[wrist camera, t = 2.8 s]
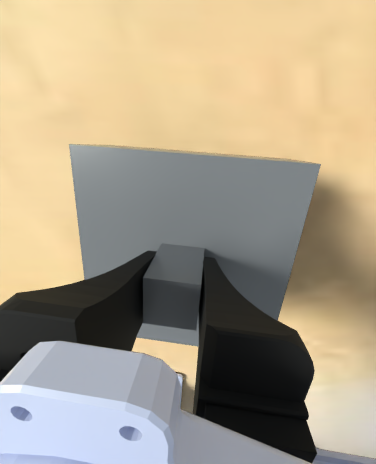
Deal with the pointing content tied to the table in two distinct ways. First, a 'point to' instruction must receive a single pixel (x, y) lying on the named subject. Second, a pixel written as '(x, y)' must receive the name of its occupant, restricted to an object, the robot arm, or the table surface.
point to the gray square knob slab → (190, 225)
